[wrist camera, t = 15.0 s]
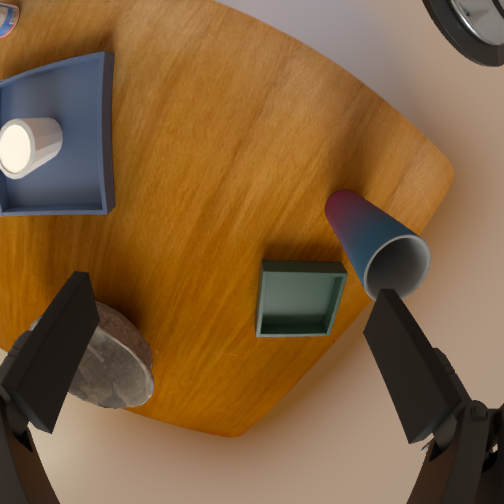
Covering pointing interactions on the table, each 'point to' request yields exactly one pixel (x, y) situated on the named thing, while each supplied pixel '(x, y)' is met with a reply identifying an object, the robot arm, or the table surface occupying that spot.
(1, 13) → the pill bottle
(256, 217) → the table surface
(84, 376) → the bowl
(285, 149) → the table surface
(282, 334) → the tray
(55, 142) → the white faceted candle
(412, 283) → the cup
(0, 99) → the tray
